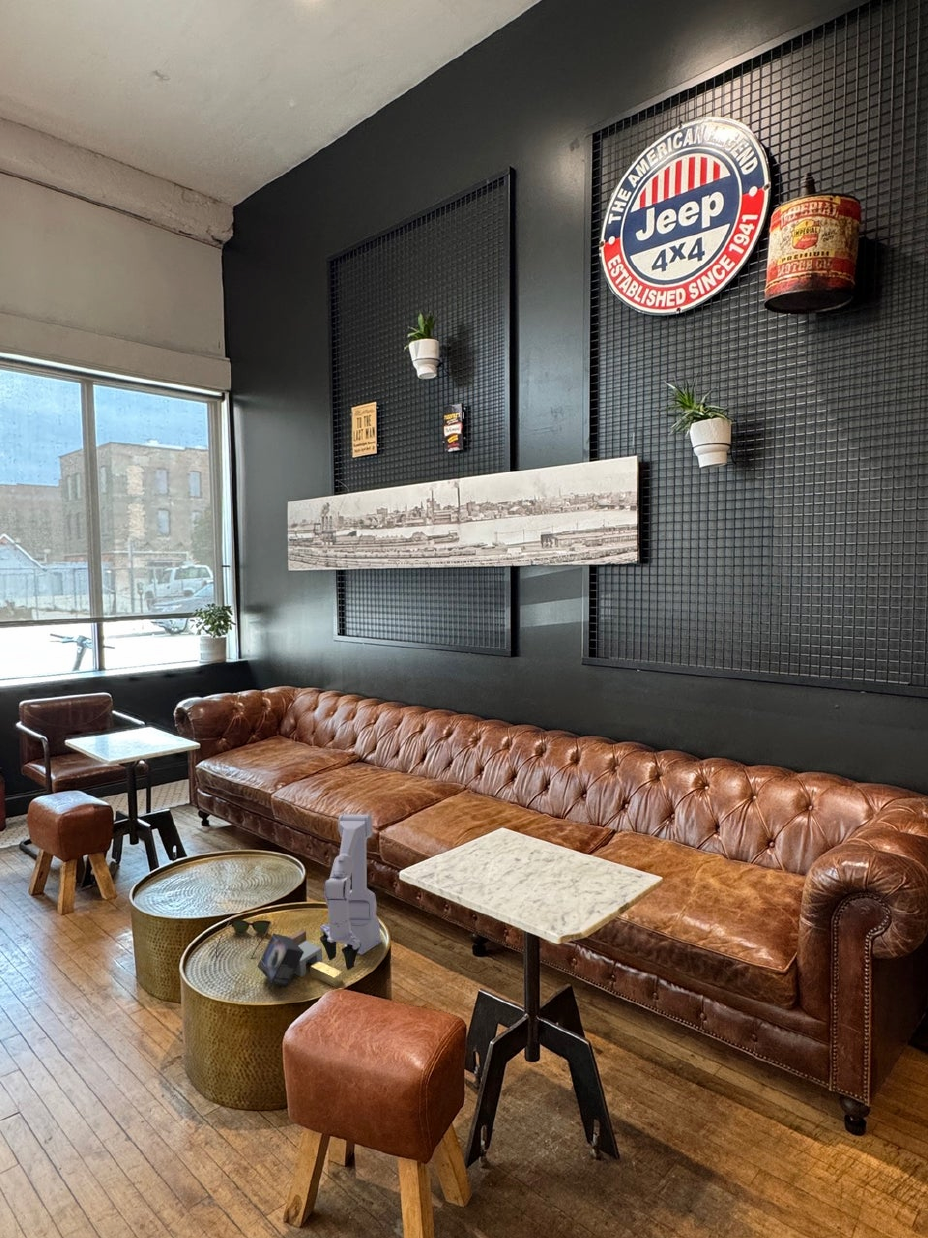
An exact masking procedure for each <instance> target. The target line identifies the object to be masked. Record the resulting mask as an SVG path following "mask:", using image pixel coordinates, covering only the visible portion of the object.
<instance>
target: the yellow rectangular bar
mask: <svg viewBox="0 0 928 1238" xmlns="http://www.w3.org/2000/svg"><path fill="white" fill-rule="evenodd" d="M322 962H323V961H322ZM322 962H319V961H317V962H316V963H314V964H311V965H310V968H309V969H310V976H311V977H313V978H314V979H318V980H320V981H322V982H324V983H325V984H328V985H330V986H333V987H336V986H338V985H339V984H341V983H342V982H343V971H341V970H339V969H338V968H335V967H333V966H330V965H328V964H327V963H324V962H323V963H322Z"/></svg>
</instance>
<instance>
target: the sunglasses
mask: <svg viewBox="0 0 928 1238" xmlns="http://www.w3.org/2000/svg"><path fill="white" fill-rule="evenodd" d="M230 924H231V928H233V930H234V932H236V933H246V932H247V931H248V930H249V928H250V926H251V928H253V930H255V932H256V933H258V934H259V933H262V934H263V933H265V934H264V935H263V937H261V940H260V941H259V943H258V944H257V946H256V947H255V949H254V951H253V954H252V955H251V958H250V959H253V957H254V956H255V953H256V951H257V949H259V946H260V945H261V943H262V941H263V940H264V938H265V936H266V935H267V933H269V930H270V926H271V924H272V922H271V921H270V920H262V919H261V920H255V921H253V922H248V921H247V920H244V919H231V920H229V921H228V923H227V925H226V926H225V928H224V930H223V931H222V933H221V935H220V937H219V939H218V942H217V945H216V949H215V958H218V957H217V955H218V954H217V952H218V947H219V945H220V941H221V939H222V937H223V934H224V933H225V931H226V929H227V927H228V926H229V925H230Z"/></svg>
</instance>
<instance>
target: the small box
mask: <svg viewBox="0 0 928 1238" xmlns="http://www.w3.org/2000/svg"><path fill="white" fill-rule="evenodd" d="M303 953H304V951H303V950H302V949H301V948H300V947H299V946H298V945H297V944H296V943H295V942H294V941H293V940H292V939H291V938H290V937H289V936H286V935H282V934H278V933H274V932H273V934H272V936H271V938H270V940H269V942H268V944H267V946H266V948H265V950H264V952H263V954H262V956H261V958H260V960H259V962H258V965H257V968H258V969H259V970H260V971H261V972H262V974H264V976H265V977H266V979H268V981H269V982H270V983H271V984H274V985H280V986H285V987H289V985H290V982H291V980H292V978H293V976H294V972H295V969H296V967H297V965H298V963H299V961H300V959H301V957H302V955H303Z"/></svg>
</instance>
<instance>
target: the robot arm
mask: <svg viewBox="0 0 928 1238" xmlns="http://www.w3.org/2000/svg"><path fill="white" fill-rule="evenodd" d="M337 822H338V823H337V829H338V833H339V837H340V838H341V842H340V850H339V855H337V856H336V857H335V858H334V860H333V864H332V868H331V870H330V876H329V878H328V879H326V880H325V883H324V887H323V888H324V889H323V892H324V893H323V896H324V899H325V905H326V906H327V912H328V924H327V923H324V924H322V925H320V927H319V929H320V933H321V934H322V935H321V936H320V937H319V941H320V943H321V944H322V945H323V947H324V950H325V952H326V955H327V957H328V960H329V961H332V960H334V959H335V958H336V956H337V943H341V944H344V947H343V948H341V952H342V954H343V957H344V961H345V966H346V967H345V968H346V969H347V970H348V971H350V970H351V969H353V968H355V962H356V957H357V956H358V955H361V956H362V955H364V954H365V953H367V952H369V951H370V950H371V949H373V948H375V947H376V946H377V945H379V944H381V943H382V942H383V939H381V931H380V930H381V929H380V928H381V927H380V920H379V917H378V916H377V900H376V894H375V892H373V891H372V890H370V889H369V888H368V886H367V885H368V884H367V882H368V881H367V878H368V876H367V873H368V872H367V868H368V867H367V842H368V839H370V838H372V837H373V834H374V833H373V832H374V829H373V822H374V821H373V817H372V815H371V814H369V813H368V814H354V813H353V814H350V813H349V814H346V813H345V814H344V813H342V814H340V815H339V818H338V821H337Z"/></svg>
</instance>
